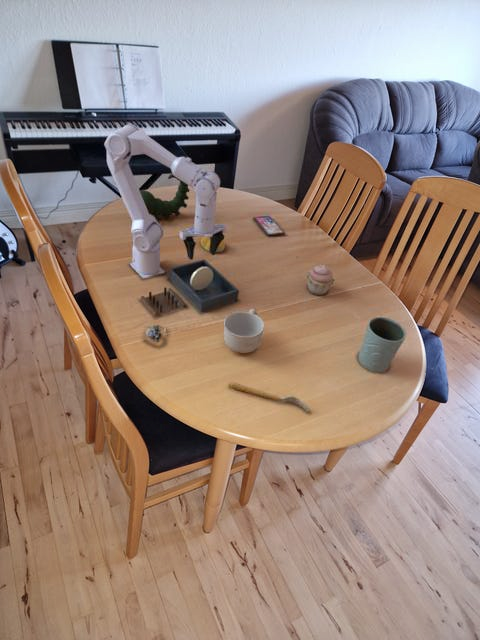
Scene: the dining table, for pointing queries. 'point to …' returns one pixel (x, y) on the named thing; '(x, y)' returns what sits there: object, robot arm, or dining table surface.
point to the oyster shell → (154, 332)
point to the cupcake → (320, 279)
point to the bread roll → (206, 244)
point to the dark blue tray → (208, 297)
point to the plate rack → (163, 302)
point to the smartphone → (268, 226)
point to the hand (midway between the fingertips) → (201, 255)
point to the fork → (257, 392)
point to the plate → (201, 278)
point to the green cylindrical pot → (381, 343)
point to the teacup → (243, 331)
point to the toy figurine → (166, 207)
